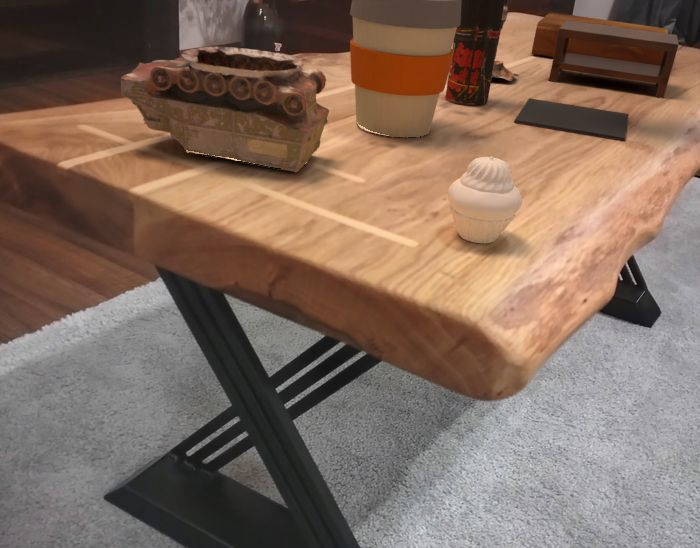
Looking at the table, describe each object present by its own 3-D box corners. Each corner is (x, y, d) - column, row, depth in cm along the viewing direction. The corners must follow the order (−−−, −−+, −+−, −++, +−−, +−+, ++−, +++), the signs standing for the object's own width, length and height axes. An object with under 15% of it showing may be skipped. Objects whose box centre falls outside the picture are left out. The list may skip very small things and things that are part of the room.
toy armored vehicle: (282, 196, 71) (287, 86, 66) (96, 156, 76) (87, 52, 71) (334, 158, 81) (341, 62, 76) (168, 125, 87) (164, 33, 82)
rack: (662, 85, 131) (677, 34, 127) (663, 98, 122) (678, 44, 118) (555, 69, 135) (566, 20, 131) (548, 80, 126) (559, 28, 122)
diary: (530, 55, 144) (537, 22, 141) (544, 42, 160) (550, 11, 157) (658, 74, 139) (668, 40, 136) (659, 58, 154) (668, 27, 151)
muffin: (432, 239, 65) (444, 157, 61) (453, 217, 70) (466, 140, 66) (504, 257, 63) (521, 173, 59) (521, 232, 68) (537, 154, 64)
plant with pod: (460, 67, 130) (480, -68, 119) (524, 79, 125) (551, -60, 115) (440, 74, 123) (459, -68, 113) (507, 87, 119) (533, -60, 109)
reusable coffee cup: (465, 133, 94) (486, -1, 87) (397, 148, 86) (414, 2, 79) (389, 108, 101) (402, -17, 94) (319, 121, 93) (328, -15, 86)
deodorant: (438, 95, 111) (454, -21, 103) (475, 95, 112) (494, -18, 105) (456, 105, 106) (474, -15, 98) (494, 106, 108) (515, -12, 100)
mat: (627, 116, 109) (628, 113, 109) (624, 141, 97) (625, 137, 97) (528, 100, 112) (529, 98, 112) (514, 122, 101) (514, 119, 100)
